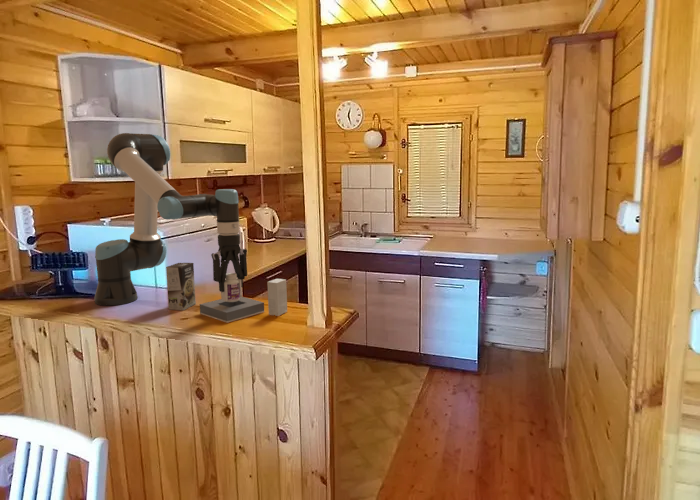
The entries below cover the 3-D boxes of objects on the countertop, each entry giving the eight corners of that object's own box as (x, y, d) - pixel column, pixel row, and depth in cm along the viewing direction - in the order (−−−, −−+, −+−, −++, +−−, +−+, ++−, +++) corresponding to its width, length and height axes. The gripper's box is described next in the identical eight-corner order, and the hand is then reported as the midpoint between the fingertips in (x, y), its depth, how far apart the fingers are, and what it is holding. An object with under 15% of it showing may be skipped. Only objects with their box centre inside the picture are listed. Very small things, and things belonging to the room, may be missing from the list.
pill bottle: (234, 303, 172) (232, 276, 170) (221, 301, 173) (219, 275, 172) (242, 299, 177) (241, 273, 175) (230, 298, 178) (228, 272, 177)
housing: (200, 313, 175) (199, 304, 174) (237, 304, 187) (236, 295, 186) (227, 322, 165) (226, 312, 164) (264, 311, 177) (264, 302, 176)
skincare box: (277, 310, 179) (276, 278, 177) (287, 311, 177) (286, 279, 175) (267, 314, 173) (266, 281, 171) (278, 316, 171) (277, 282, 169)
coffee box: (184, 310, 179) (181, 267, 176) (168, 309, 180) (165, 266, 177) (196, 303, 188) (194, 262, 185) (181, 303, 189) (178, 261, 186)
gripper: (212, 237, 162) (216, 305, 166) (256, 231, 176) (258, 295, 179) (199, 235, 167) (203, 302, 170) (243, 230, 180) (246, 291, 184)
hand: (231, 298), depth 175 cm, fingers closed on pill bottle, 5 cm apart
